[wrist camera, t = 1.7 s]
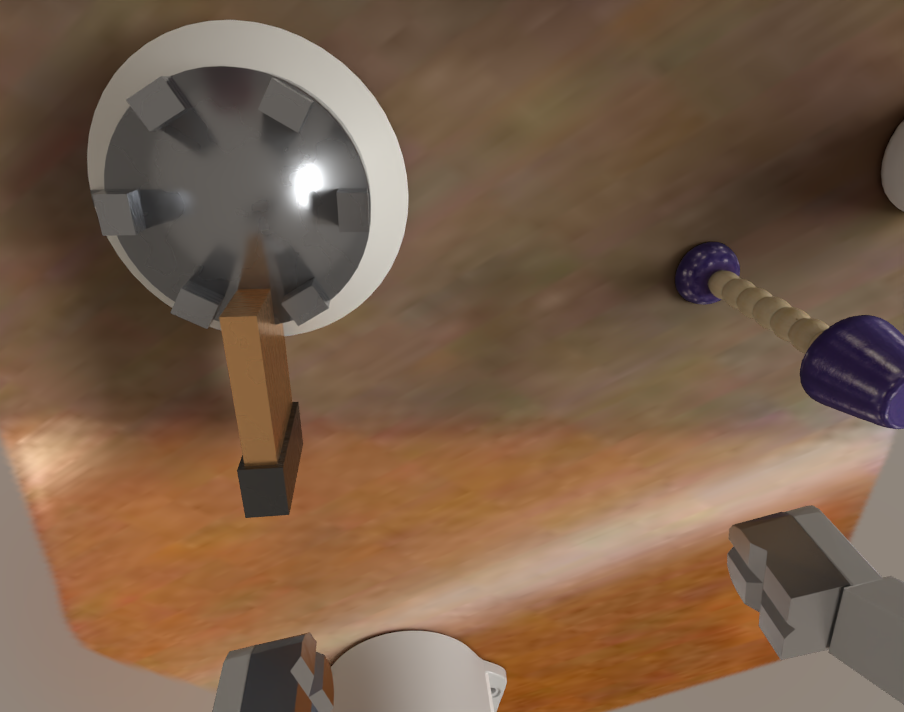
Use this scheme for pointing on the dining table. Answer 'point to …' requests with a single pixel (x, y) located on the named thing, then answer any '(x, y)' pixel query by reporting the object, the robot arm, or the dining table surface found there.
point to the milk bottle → (894, 168)
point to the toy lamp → (810, 339)
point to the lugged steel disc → (241, 233)
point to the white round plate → (308, 70)
